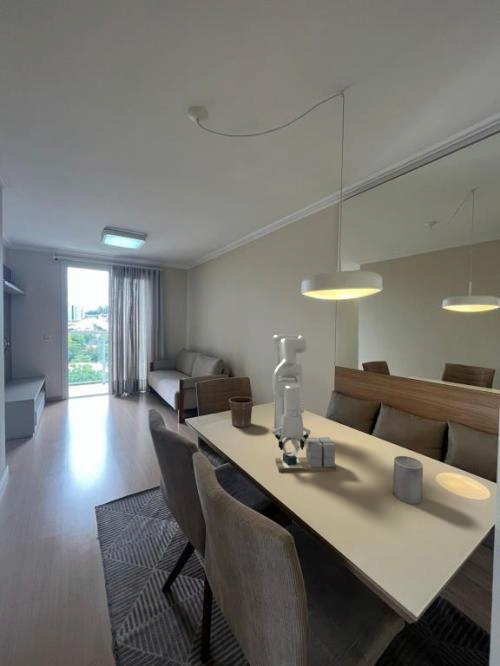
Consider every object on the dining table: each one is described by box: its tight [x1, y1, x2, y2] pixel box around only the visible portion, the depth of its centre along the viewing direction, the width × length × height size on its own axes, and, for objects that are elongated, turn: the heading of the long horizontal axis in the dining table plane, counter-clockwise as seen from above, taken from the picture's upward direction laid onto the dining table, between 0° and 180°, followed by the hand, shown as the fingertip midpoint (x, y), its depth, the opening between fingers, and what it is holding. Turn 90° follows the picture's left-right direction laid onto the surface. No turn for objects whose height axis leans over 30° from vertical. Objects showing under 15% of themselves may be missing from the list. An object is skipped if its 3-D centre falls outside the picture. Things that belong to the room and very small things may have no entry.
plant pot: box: [228, 396, 255, 428], centre depth 184 cm, size 16×16×16 cm
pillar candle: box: [392, 455, 424, 505], centre depth 109 cm, size 10×10×15 cm
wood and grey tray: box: [274, 437, 337, 473], centre depth 131 cm, size 10×26×12 cm, turn 94°
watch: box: [282, 438, 301, 465], centre depth 131 cm, size 6×8×11 cm
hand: (291, 448), depth 131 cm, fingers open, 9 cm apart
